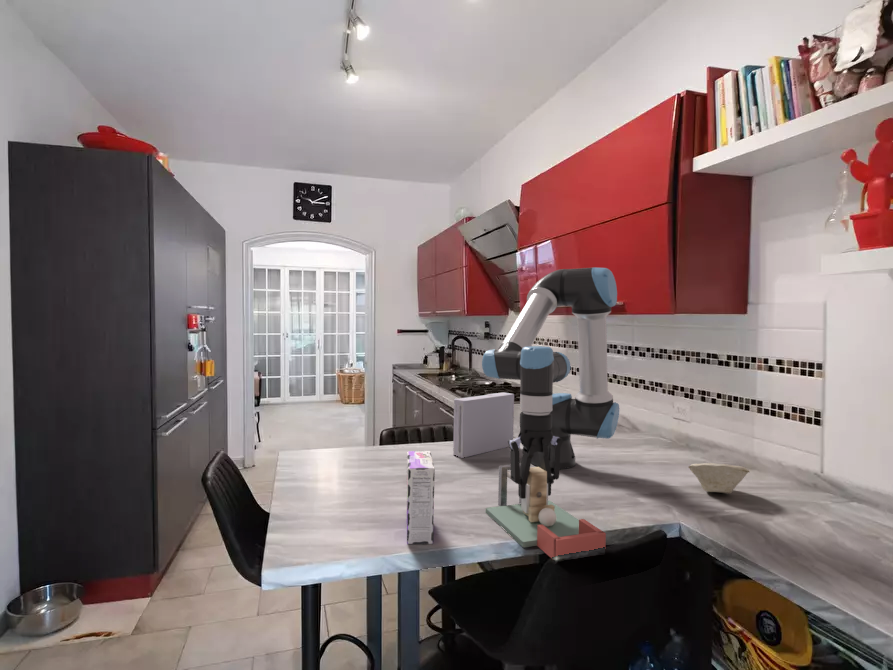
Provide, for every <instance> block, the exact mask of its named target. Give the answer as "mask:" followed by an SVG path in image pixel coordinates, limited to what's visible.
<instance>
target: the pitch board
mask: <svg viewBox="0 0 893 670" xmlns="http://www.w3.org/2000/svg"><path fill="white" fill-rule="evenodd" d="M548 505H553V506H555V509H554V512H555V514H556V522H555V524H554V525H552V526H550V527H546V526H545V527H546V528H548V529H549V530H550V531H552V532H553V533H554V534H556V535H557V536H558V537H564V536H571V535H577V534H579V519H578V518H577V517H576V516H574V515H573V514H571V513H570V512H568V511H566V510H565V509H563V508H562V507H560V506H559V505H557V504H556V503H554V502H553V501H551V500H548ZM485 513H487V514H488V515H489V516H488V515H487V514H486V515H487V516H488V517H490V519H492V518H493V519H494V520H495V521H496V522H497V523H498V524H499V525H500V526H502V527H503V528H504V529H505V530H506V531H507V532H508V533H509V534H510V535H511V536H512V537H513V538H514V539H515V540H516V541H515V540H514V539H513V538H512V537H511V536H510V535H509V534H508V533H507V532H506V531H505V530H504V531H505V532H506V533H507V534H508V535H509V536H510V537H511V538H512V539H513V540H514V541H515V542H516V543H517V544H518V545H519V546H520V547H522V548H523V549H525V548H530V547H538V546H537V525H542V524H541V523H540V521H537V522H530V521H529V517H528V516H527V515H526V514H525V513H523V510H522V509H521V504H520V503H517V504H509V505H508V504H507V506H499V505H498V506H492V507H485ZM493 519H492V520H493ZM494 520H493V521H494ZM495 521H494V522H495ZM496 522H495V523H496ZM497 523H496V524H497ZM498 524H497V525H498ZM499 525H498V526H499ZM500 526H499V527H500Z"/></svg>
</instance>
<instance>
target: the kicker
mask: <svg viewBox="0 0 893 670" xmlns="http://www.w3.org/2000/svg"><path fill="white" fill-rule="evenodd" d="M507 479H510V480H511V471H510V470H507ZM527 484H528V485H530V505H529V513H527V514H526V513H525V512H524V511H523V513H525V514H526V515H527V516H528V517H529V521H530V522H537V521H539V518H538V515H539V512H540V511H541V510H542V509H544V508H550V509H552V510H553V511H554V509H555V506H553V505H546V495H547V471H545V470H543V469H541V467H539V466H530V470H529V475H528V480H527Z"/></svg>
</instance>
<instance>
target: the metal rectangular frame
mask: <svg viewBox="0 0 893 670" xmlns="http://www.w3.org/2000/svg"><path fill="white" fill-rule="evenodd" d="M520 466H521V463H520ZM507 470H508V471H511V464H504V465H503V464H502V465H498V501H497V502H498V506H507V505H508V501H507V500H508V477H507ZM518 497H519V496H518ZM518 499H519V500H518V504H520V503H521V498H520V497H519V498H518Z"/></svg>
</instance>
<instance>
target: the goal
mask: <svg viewBox="0 0 893 670" xmlns="http://www.w3.org/2000/svg"><path fill="white" fill-rule="evenodd" d="M578 520H579V534H577V535H571V536H564V537H558V536H557V535H556V534H554V533H553V532H552V531H550V530H549V529H548V528H546V527H545V526H544V525H543V524H542V525H537V546H536V547H537V548H539V549H540V550H541V551H543V552H544V553H545V554H546V556H548V557H549V558H550V559H552V557H555V556H558V555H564V554H569V553H576V552H581V551H589V550H594V549H598V548H603V547H605V548H606V545H607V544H606V543H607V542H606V540H607V539H606V537H607V533H606V532H605V531H603V530H602V529H600V528H598V527H597V526H596V525H593V523H591V522H590V521H588V520H586V519H584V518H581V519H578Z"/></svg>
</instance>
